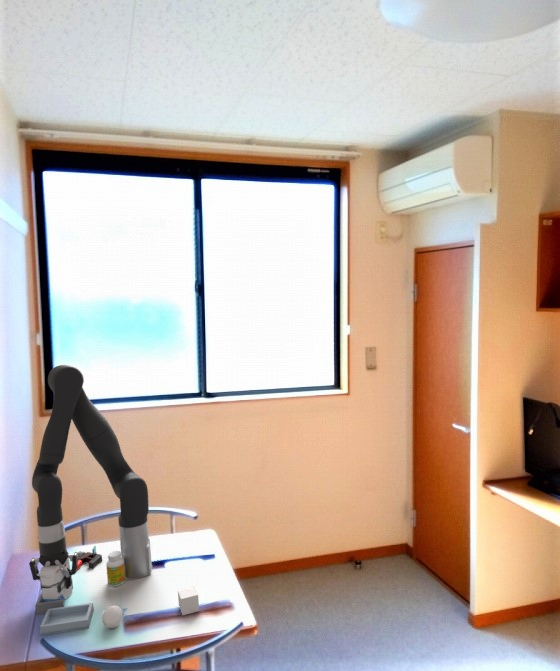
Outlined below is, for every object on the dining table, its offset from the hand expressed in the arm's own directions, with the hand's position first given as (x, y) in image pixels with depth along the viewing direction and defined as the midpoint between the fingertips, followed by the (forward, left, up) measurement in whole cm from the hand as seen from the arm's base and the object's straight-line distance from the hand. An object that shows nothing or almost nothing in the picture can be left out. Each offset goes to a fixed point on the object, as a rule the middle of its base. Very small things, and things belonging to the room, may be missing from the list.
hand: (56, 589), depth 164 cm
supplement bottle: (-17, -6, -4) cm, 18 cm away
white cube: (-40, +15, -4) cm, 43 cm away
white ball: (-19, +17, -4) cm, 26 cm away
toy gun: (-3, -22, -4) cm, 23 cm away
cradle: (0, 0, -4) cm, 4 cm away
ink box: (0, 0, -4) cm, 4 cm away
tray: (-6, +13, -4) cm, 15 cm away
